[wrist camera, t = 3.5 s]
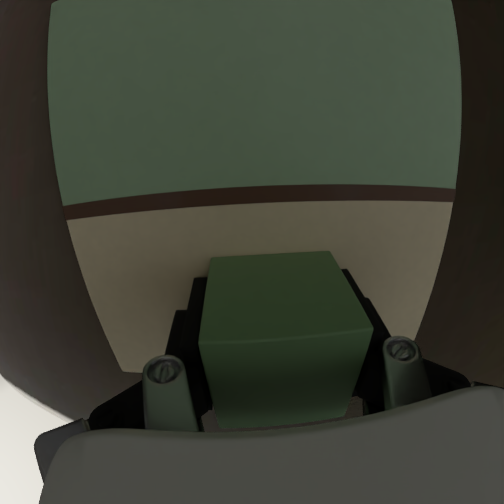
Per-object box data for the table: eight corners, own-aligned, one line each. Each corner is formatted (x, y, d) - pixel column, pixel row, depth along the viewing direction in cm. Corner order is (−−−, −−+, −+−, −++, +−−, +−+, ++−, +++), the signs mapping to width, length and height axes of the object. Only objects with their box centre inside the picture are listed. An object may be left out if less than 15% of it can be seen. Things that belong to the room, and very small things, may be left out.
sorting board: (124, 366, 14) (122, 372, 14) (56, 5, 6) (50, 3, 6) (407, 346, 14) (410, 351, 14) (446, 2, 6) (452, 0, 6)
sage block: (222, 343, 13) (219, 429, 9) (210, 256, 11) (197, 343, 7) (319, 336, 13) (344, 416, 9) (330, 249, 11) (374, 328, 7)
